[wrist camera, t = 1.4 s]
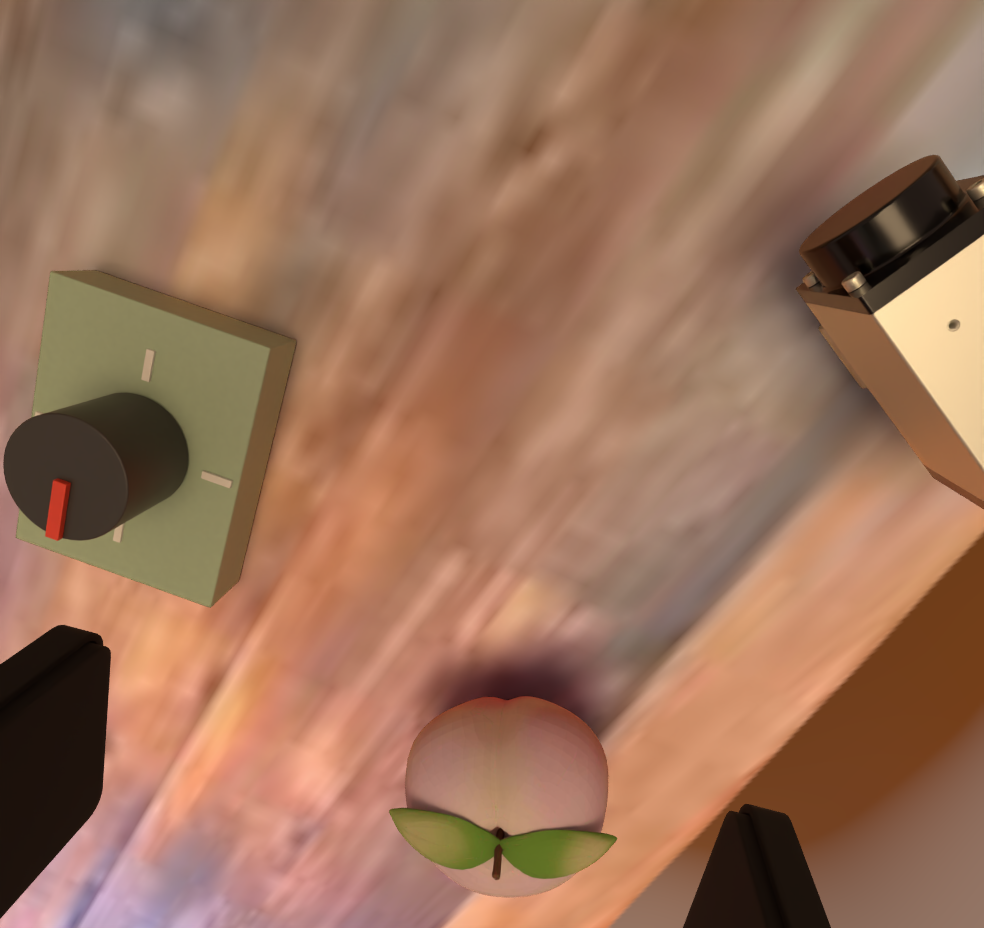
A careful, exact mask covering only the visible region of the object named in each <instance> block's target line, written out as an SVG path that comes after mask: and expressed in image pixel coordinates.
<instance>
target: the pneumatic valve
mask: <svg viewBox="0 0 984 928" xmlns="http://www.w3.org/2000/svg"><path fill="white" fill-rule="evenodd" d="M799 253H800V255H801V257H802V258H803V259H804V261H805V262H806V264H807V265H808V266H809V268H810V269H811V272H810V273H808V274H807V275H806V276H805V277H804V278H803V282H804V283H802V284H801V285H800V286H798V287H797V288H796V290H797V292H798V293H799V294H800V296H801V297H802V299H803V300H804V301H805V303H806V304H807V305H808V307H809V308H810V310H811V311H812V312H813V314H814V315H815V316H816V318H817V319H818V321H819V322H820V324H821V325H820V327H819V328H818V330H819V331H820V332H821V334H822V335H823V336H824V338H825V339H826V340H827V342H828V343H829V345H830V346H831V347H832V349H833V350H834V351H835V353H836V354H837V356H838V357H839V358H840V360H841V361H842V362H843V364H844V365H845V366H846V368H847V369H848V371H849V372H850V373H851V375H852V376H853V377H854V379H855V380H856V382H857V383H858V384H859V386H860V387H861V388H868V390H869V391H870V392H871V393H872V395H873V396H874V397H875V399H876V400H877V401H878V403H879V404H880V406H881V407H882V408H883V410H884V411H885V412H886V414H887V415H888V417H889V418H890V419H891V421H892V422H893V423H894V425H895V426H896V428H897V429H898V430H899V432H900V433H901V434H902V436H903V437H904V439H905V440H906V441H907V443H908V444H909V445H910V447H911V448H912V450H913V451H914V452H915V454H916V455H917V456H918V458H919V459H920V460H921V462H922V463H923V465H924V466H925V467H926V469H927V470H928V471H929V473H930V474H931V476H932V477H933V478H934V479H936V480H938V481H939V482H941V483H942V484H944V485H946V486H947V487H949V488H950V489H952V490H954V491H955V492H957V493H958V494H960V495H962V496H963V497H965V498H966V499H968V500H970V501H971V502H973V503H974V504H976V505H978V506H979V507H981V508H982V509H984V175H982V176H978V177H973V178H968V179H963V180H958V181H956V180H955V179H954V177H953V176H952V174H951V173H950V171H949V170H948V168H947V167H946V165H945V164H944V162H943V161H942V159H941V158H940V156H938V155H930V156H926V157H924V158H921V159H919V160H917V161H914V162H912V163H910V164H909V165H907V166H905V167H903V168H901V169H899V170H898V171H896V172H894V173H893V174H891V175H889V176H888V177H886V178H884V179H883V180H881V181H880V182H878V183H877V184H875V185H873V186H872V187H871V188H869V189H868V190H866V191H865V192H863V193H862V194H860V195H859V196H857V197H856V198H855V199H853V200H852V201H850V202H849V203H848V204H846V205H845V206H844V207H842V208H841V209H840V210H839V211H837V212H836V213H835V214H833V215H832V216H831V217H830V218H828V219H827V220H826V221H825V222H824V223H823V224H821V225H820V226H819V227H818V228H817V229H816V230H815V231H814V232H813V233H812V234H811V235H810V236H809V237H808V238H807V239H806V240H805V241H804V242H803V244H802V245H801V247H800V249H799Z"/></svg>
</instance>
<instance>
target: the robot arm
mask: <svg viewBox="0 0 984 928" xmlns="http://www.w3.org/2000/svg"><path fill="white" fill-rule="evenodd" d="M110 661H111V652H110V650H109V648H108V647H106V646H103V640H102V638H101V636H100V635H98V634H96V633H93V632H89V631H85V630H81V629H77V628H73V627H70V626H66V625H58V626H56V627H54V628H52V629H51V630H49V631H48V632H46V633H45V634H44V635H42V636H41V637H39V638H38V639H36V640H35V641H33V642H32V643H31V644H29V645H28V646H26V647H25V648H23V649H22V650H20V651H19V652H18V653H16V654H15V655H13V656H12V657H10V658H9V659H8V660H6V661H5V662H3V663H2V664H0V918H1V917H2V916H3V915H4V914H5V913H6V912H7V911H8V909H9V908H10V907H11V906H12V905H13V904H14V903H15V901H16V900H17V899H18V898H19V897H20V896H21V895H22V894H23V892H24V891H25V890H26V889H27V888H28V887H29V886H30V885H31V883H32V882H33V881H34V880H35V879H36V878H37V877H38V875H39V874H40V873H41V872H42V871H43V870H44V869H45V868H46V866H47V865H48V864H49V863H50V862H51V861H52V860H53V859H54V857H55V856H56V855H57V854H58V853H59V852H60V851H61V849H62V848H63V847H64V846H65V845H66V844H67V843H68V842H69V840H70V839H71V838H72V837H73V836H74V835H75V834H76V833H77V831H78V830H79V829H80V828H81V827H82V826H83V825H84V823H85V822H86V821H87V820H88V819H89V818H90V816H91V815H92V814H93V812H94V811H95V809H96V807H97V805H98V803H99V801H100V798H101V794H102V789H103V773H104V757H105V741H106V725H107V709H108V693H109V677H110ZM683 928H831V927H830V924H829V921H828V919H827V916H826V913H825V911H824V908H823V905H822V903H821V900H820V897H819V894H818V892H817V889H816V887H815V884H814V881H813V878H812V876H811V873H810V870H809V868H808V865H807V862H806V860H805V857H804V855H803V852H802V849H801V846H800V844H799V841H798V838H797V836H796V833H795V830H794V828H793V825H792V822H791V820H790V819H789V817H788V816H787V815H786V814H784V813H780V812H777V811H772V810H769V809H765V808H761V807H757V806H754V805H749V804H745V805H743V806H742V807H741V809H740V811H739V813H738V812H734V811H729V812H728V813H727V815H726V817H725V819H724V821H723V824H722V827H721V829H720V832H719V835H718V837H717V840H716V842H715V845H714V848H713V850H712V853H711V856H710V858H709V861H708V863H707V866H706V869H705V871H704V874H703V877H702V879H701V882H700V885H699V887H698V890H697V892H696V895H695V898H694V900H693V903H692V905H691V908H690V911H689V913H688V916H687V919H686V922H685V924H684V927H683Z"/></svg>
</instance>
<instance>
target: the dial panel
mask: <svg viewBox="0 0 984 928" xmlns="http://www.w3.org/2000/svg"><path fill="white" fill-rule="evenodd" d="M295 346H296V340H294V339H291V338H288V337H285V336H282V335H280V334H277V333H274V332H271V331H268V330H265V329H262V328H260V327H257V326H254V325H251V324H248V323H245V322H242V321H240V320H237V319H234V318H231V317H228V316H225V315H222V314H220V313H217V312H214V311H211V310H208V309H205V308H202V307H200V306H197V305H194V304H191V303H188V302H185V301H182V300H180V299H177V298H174V297H171V296H168V295H165V294H162V293H160V292H157V291H154V290H151V289H148V288H145V287H142V286H140V285H137V284H134V283H131V282H128V281H125V280H122V279H120V278H117V277H114V276H111V275H108V274H105V273H102V272H100V271H97V270H83V271H51V272H50V279H49V286H48V294H47V302H46V309H45V317H44V325H43V332H42V340H41V348H40V355H39V363H38V371H37V378H36V386H35V394H34V401H33V409H32V417H34V416H37V415H40V414H44V413H47V412H51V411H54V410H58V409H61V408H65V407H68V406H72V405H75V404H79V403H82V402H85V401H89V400H92V399H96V398H99V397H103V396H106V395H110V394H113V393H133V394H138V395H141V396H144V397H146V398H149V399H151V400H153V401H154V402H156V403H158V404H159V405H160V406H162V407H163V408H164V409H165V410H166V411H167V412H169V413H170V415H171V416H172V417H173V418H174V419H175V421H176V422H177V424H178V425H179V427H180V429H181V431H182V433H183V435H184V438H185V440H186V444H187V449H188V467H187V471H186V475H185V478H184V480H183V482H182V484H181V485H180V487H179V488H178V489H177V490H176V492H175V493H174V494H172V495H171V496H170V497H168V498H167V499H165V500H163V501H162V502H160V503H158V504H157V505H155V506H153V507H151V508H150V509H148V510H146V511H144V512H143V513H141V514H139V515H138V516H136V517H134V518H132V519H131V520H129V521H127V522H125V523H124V524H122V525H120V526H118V527H117V528H115V529H113V530H112V531H110V532H108V533H106V534H105V535H103V536H100V537H98V538H95V539H91V540H82V541H79V540H68V539H63V538H62V539H60V540H58V541H56V540H54V539H51V538H48V537H45V533H46V531H44V530H42V529H41V528H39V527H38V526H36V525H35V524H34V523H33V522H32V521H30V520H29V519H28V518H27V517H26V516H25V515H24V514H23V512H22V511H21V510H20V509H19V517H18V524H17V532H16V538H18V539H20V540H23V541H26V542H29V543H32V544H34V545H37V546H40V547H43V548H45V549H48V550H51V551H54V552H56V553H59V554H62V555H65V556H68V557H70V558H73V559H76V560H79V561H81V562H84V563H87V564H90V565H93V566H95V567H98V568H101V569H104V570H106V571H109V572H112V573H115V574H118V575H120V576H123V577H126V578H129V579H131V580H134V581H137V582H140V583H143V584H145V585H148V586H151V587H154V588H156V589H159V590H162V591H165V592H168V593H170V594H173V595H176V596H179V597H181V598H184V599H187V600H190V601H193V602H195V603H198V604H201V605H204V606H206V607H212V606H213V605H214V604H215V603H216V602H217V601H218V600H219V599H220V598H221V597H222V596H224V595H225V594H226V593H227V592H228V591H229V590H230V589H231V588H232V587H233V586H234V585H235V584H236V583H237V582H238V581H239V578H240V574H241V570H242V566H243V562H244V558H245V553H246V549H247V545H248V541H249V537H250V533H251V528H252V524H253V520H254V516H255V512H256V508H257V504H258V499H259V495H260V491H261V487H262V483H263V479H264V475H265V470H266V466H267V462H268V458H269V454H270V450H271V445H272V441H273V437H274V433H275V429H276V425H277V421H278V416H279V412H280V408H281V404H282V400H283V396H284V392H285V387H286V383H287V379H288V375H289V371H290V367H291V362H292V358H293V354H294V350H295ZM32 417H31V418H32Z"/></svg>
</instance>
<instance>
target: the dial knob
mask: <svg viewBox="0 0 984 928" xmlns="http://www.w3.org/2000/svg"><path fill="white" fill-rule="evenodd" d="M187 467H188V449H187V444H186V440H185V438H184V435H183V433H182V431H181V429H180V427H179V425H178V424H177V422H176V421H175V419H174V418H173V417H172V416H171V415H170V413H169V412H167V411H166V410H165V409H164V408H163V407H162V406H160V405H159V404H158V403H156V402H154V401H153V400H151V399H149V398H146V397H144V396H141V395H138V394H133V393H113V394H110V395H106V396H103V397H99V398H96V399H92V400H89V401H85V402H82V403H79V404H75V405H72V406H68V407H65V408H61V409H58V410H54V411H51V412H47V413H44V414H40V415H37V416H34V417H32V418H30V419H28V420H26V421H25V422H23V423H22V424H21V425H20V426H19V427H18V428H17V429H16V430H15V431H14V433H13V434H12V435H11V437H10V439H9V441H8V443H7V446H6V449H5V454H4V475H5V480H6V483H7V486H8V489H9V491H10V494H11V496H12V498H13V500H14V501H15V503H16V505H17V506H18V507H19V509H20V510H21V511H22V512H23V514H24V515H25V516H26V517H27V518H28V519H29V520H30V521H32V522H33V523H34V524H35V525H36V526H38V527H39V528H41V529H42V530H44V531H46V533H45V537H48V538H51V539H54V540H56V541H58V540H60V539H62V538H63V539H68V540H79V541H82V540H91V539H95V538H98V537H100V536H103V535H105V534H106V533H108V532H110V531H112V530H113V529H115V528H117V527H118V526H120V525H122V524H124V523H125V522H127V521H129V520H131V519H132V518H134V517H136V516H138V515H139V514H141V513H143V512H144V511H146V510H148V509H150V508H151V507H153V506H155V505H157V504H158V503H160V502H162V501H163V500H165V499H167V498H168V497H170V496H171V495H172V494H174V493H175V492H176V490H177V489H178V488H179V487H180V485H181V484H182V482H183V480H184V478H185V475H186V471H187Z"/></svg>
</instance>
